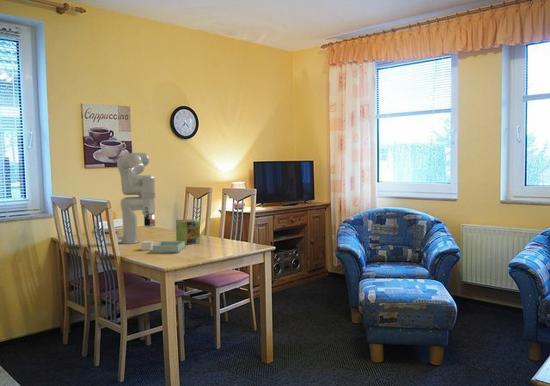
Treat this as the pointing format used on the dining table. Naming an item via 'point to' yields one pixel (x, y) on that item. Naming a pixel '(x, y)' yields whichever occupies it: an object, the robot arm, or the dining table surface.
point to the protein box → (188, 231)
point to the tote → (168, 247)
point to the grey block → (147, 245)
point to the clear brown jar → (151, 221)
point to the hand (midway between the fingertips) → (149, 224)
